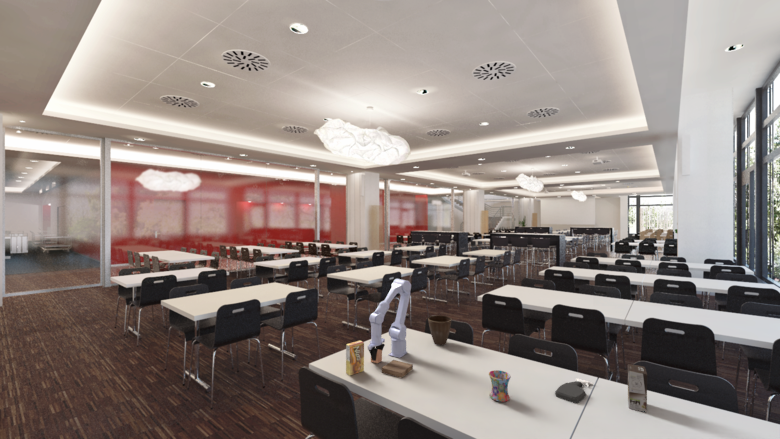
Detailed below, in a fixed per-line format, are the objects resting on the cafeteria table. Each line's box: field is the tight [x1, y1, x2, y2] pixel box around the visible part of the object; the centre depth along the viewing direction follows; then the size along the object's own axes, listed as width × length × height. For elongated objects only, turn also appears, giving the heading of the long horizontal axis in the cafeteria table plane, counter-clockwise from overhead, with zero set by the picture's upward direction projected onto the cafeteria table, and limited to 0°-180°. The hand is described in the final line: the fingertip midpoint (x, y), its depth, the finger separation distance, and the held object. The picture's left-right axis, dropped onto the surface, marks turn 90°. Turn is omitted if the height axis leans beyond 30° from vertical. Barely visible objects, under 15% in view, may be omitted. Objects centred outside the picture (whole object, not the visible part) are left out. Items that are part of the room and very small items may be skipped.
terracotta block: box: [370, 349, 383, 364], centre depth 195 cm, size 4×4×6 cm
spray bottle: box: [554, 377, 594, 404], centre depth 163 cm, size 3×11×24 cm
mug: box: [488, 369, 512, 403], centre depth 157 cm, size 12×9×11 cm
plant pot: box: [427, 315, 452, 346], centre depth 224 cm, size 15×15×16 cm
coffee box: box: [627, 363, 648, 413], centre depth 149 cm, size 9×6×16 cm
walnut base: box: [381, 359, 414, 379], centre depth 184 cm, size 12×12×3 cm
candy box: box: [345, 340, 365, 376], centre depth 182 cm, size 9×4×15 cm, turn 129°
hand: (376, 358), depth 195 cm, fingers closed on terracotta block, 4 cm apart
